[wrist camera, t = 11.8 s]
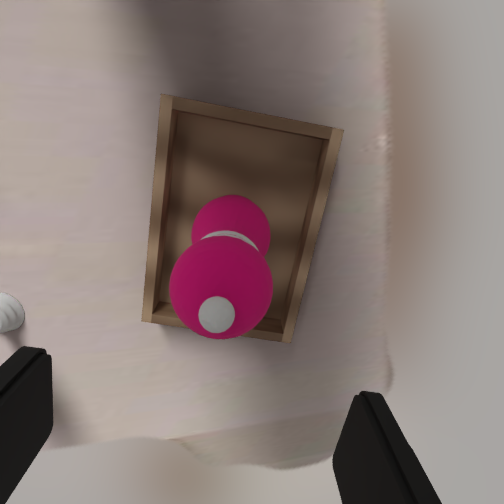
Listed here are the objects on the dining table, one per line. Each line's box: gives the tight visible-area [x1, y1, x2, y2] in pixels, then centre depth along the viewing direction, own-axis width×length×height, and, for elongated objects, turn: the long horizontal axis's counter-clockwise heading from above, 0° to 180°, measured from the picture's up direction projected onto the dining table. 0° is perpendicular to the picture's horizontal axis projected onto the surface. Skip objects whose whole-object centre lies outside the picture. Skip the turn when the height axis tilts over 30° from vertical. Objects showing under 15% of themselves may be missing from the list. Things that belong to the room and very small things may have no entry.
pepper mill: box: [169, 195, 273, 339], centre depth 25 cm, size 7×7×20 cm
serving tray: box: [142, 94, 344, 343], centre depth 33 cm, size 22×16×4 cm
